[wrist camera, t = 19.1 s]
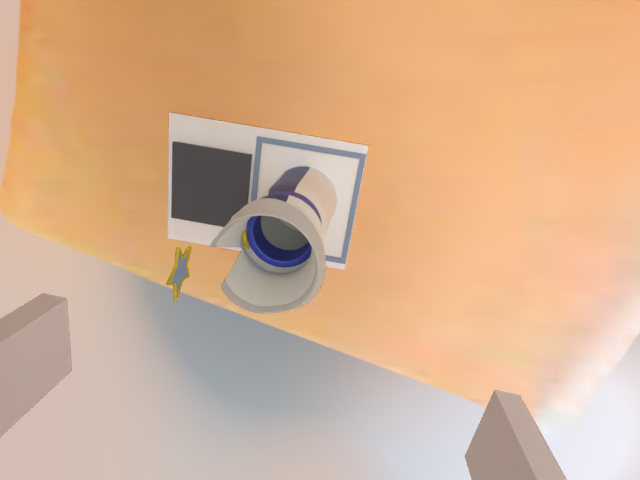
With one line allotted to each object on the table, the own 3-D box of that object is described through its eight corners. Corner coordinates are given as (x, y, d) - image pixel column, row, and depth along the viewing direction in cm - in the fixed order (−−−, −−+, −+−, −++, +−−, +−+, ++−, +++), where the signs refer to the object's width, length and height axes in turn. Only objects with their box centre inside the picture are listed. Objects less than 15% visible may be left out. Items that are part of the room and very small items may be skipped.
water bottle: (276, 241, 45) (188, 381, 22) (260, 171, 43) (140, 245, 19) (343, 231, 44) (326, 369, 21) (331, 159, 41) (296, 222, 18)
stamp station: (172, 112, 42) (166, 112, 41) (368, 145, 41) (368, 146, 40) (170, 236, 47) (165, 239, 46) (344, 267, 46) (344, 272, 45)
